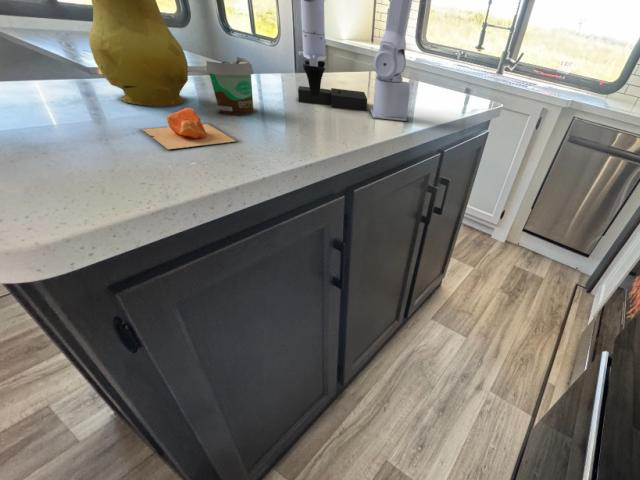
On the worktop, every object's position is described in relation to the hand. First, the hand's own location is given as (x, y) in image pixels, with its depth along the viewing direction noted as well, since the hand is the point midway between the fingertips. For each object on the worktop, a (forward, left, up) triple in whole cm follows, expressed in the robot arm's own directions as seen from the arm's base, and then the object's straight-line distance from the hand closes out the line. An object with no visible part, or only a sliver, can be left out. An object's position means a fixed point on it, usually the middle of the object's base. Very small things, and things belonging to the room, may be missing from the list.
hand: (315, 93), depth 96 cm
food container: (+17, +19, -2) cm, 25 cm away
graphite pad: (-9, 0, -2) cm, 10 cm away
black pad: (-1, 0, -2) cm, 2 cm away
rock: (+23, +40, -2) cm, 46 cm away
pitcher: (+37, +15, -2) cm, 40 cm away
